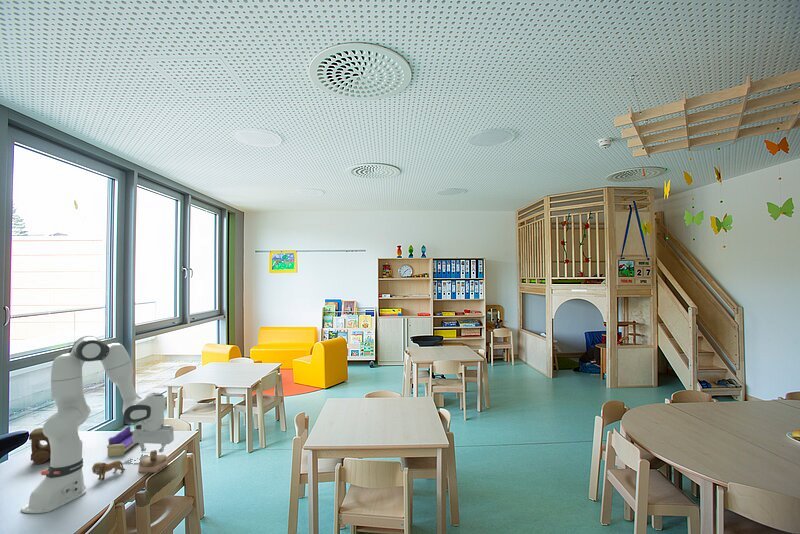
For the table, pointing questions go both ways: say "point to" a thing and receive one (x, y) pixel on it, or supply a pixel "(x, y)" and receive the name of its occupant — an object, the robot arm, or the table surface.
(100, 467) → the lion figurine
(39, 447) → the wooden toy train
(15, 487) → the table surface
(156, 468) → the open box
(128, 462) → the mat
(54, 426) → the robot arm
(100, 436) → the table surface
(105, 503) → the table surface
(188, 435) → the table surface
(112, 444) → the toy sofa
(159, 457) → the lid
